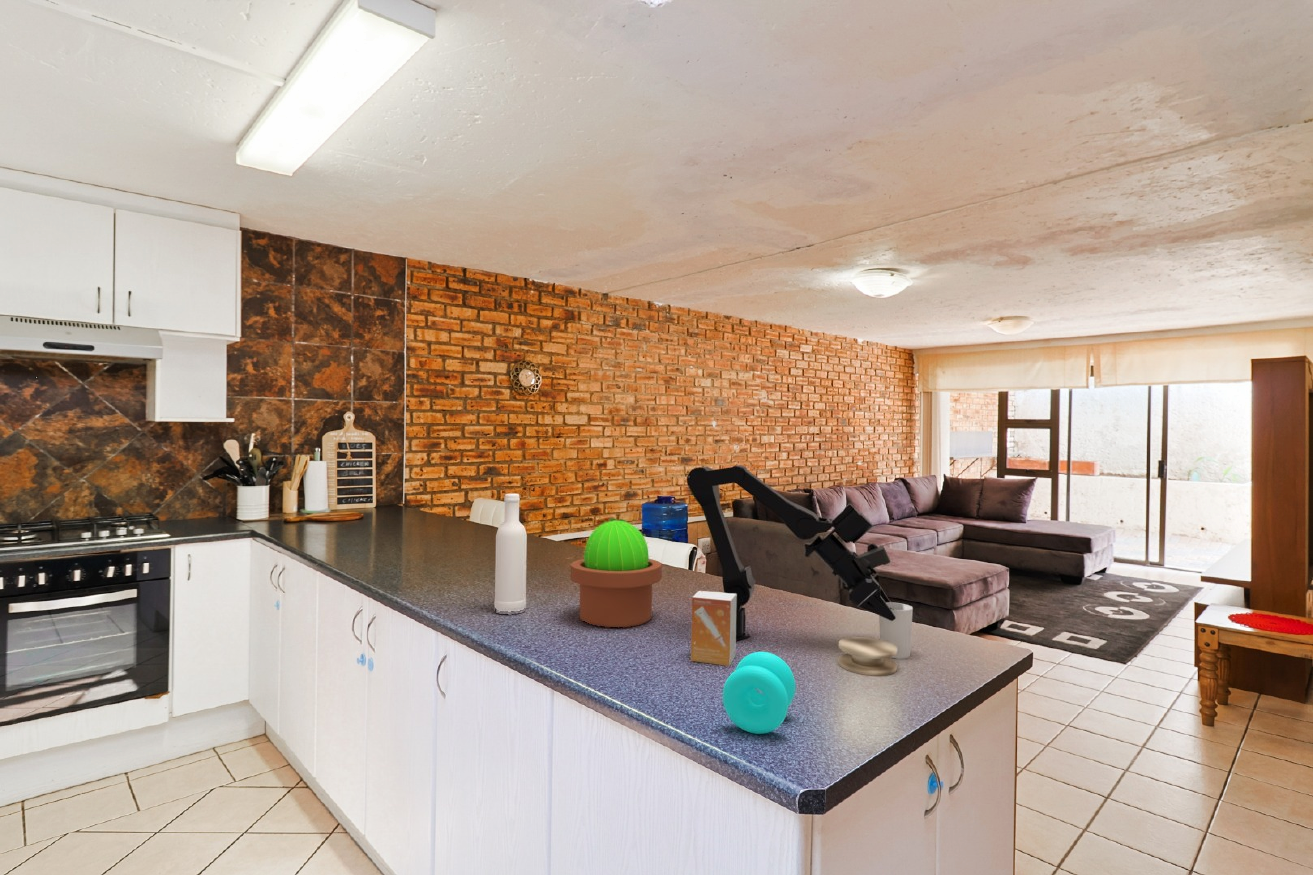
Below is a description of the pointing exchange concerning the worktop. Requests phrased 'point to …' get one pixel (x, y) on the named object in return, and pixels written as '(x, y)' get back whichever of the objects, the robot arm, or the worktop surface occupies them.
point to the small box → (713, 627)
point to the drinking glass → (898, 629)
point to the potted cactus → (616, 576)
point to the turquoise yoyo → (748, 702)
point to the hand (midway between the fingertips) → (892, 613)
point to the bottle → (511, 559)
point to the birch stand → (867, 656)
